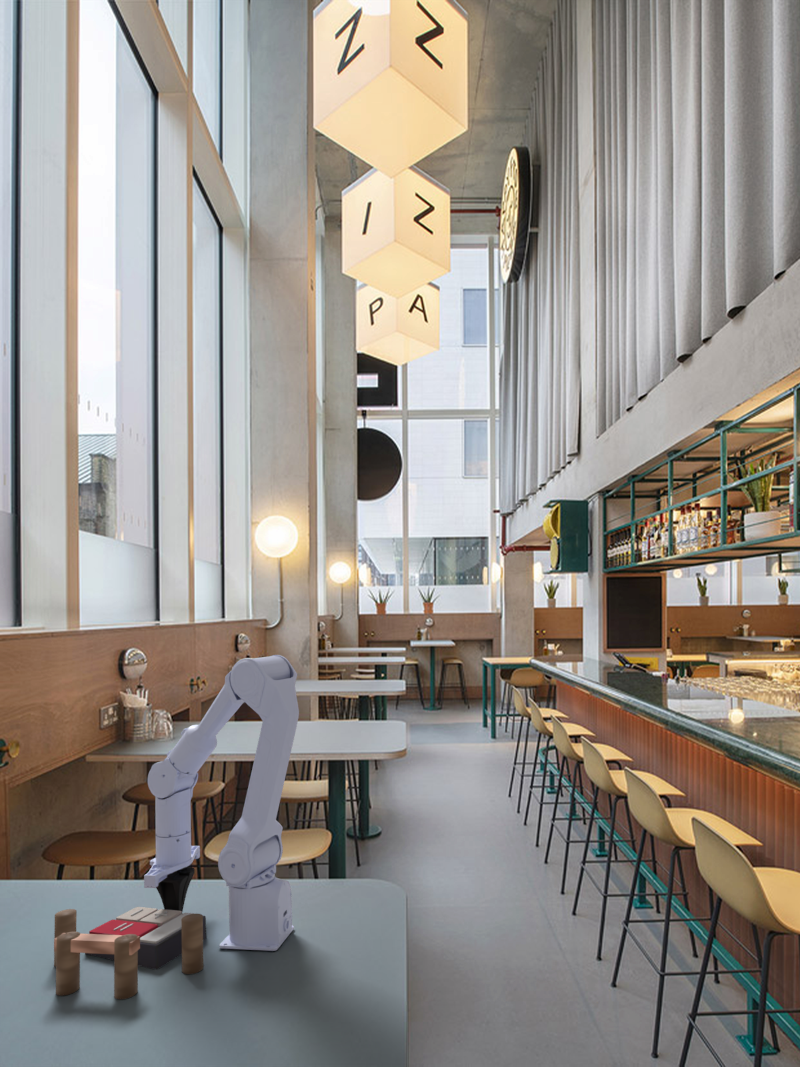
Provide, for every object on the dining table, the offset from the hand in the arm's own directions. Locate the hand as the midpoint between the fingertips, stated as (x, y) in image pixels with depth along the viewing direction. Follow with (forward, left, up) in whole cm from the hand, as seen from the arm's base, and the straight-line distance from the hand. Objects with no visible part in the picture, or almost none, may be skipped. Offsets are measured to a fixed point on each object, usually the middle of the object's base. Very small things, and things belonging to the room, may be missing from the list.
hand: (174, 917), depth 115 cm
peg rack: (0, +17, -1) cm, 17 cm away
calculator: (+1, +7, -2) cm, 7 cm away
